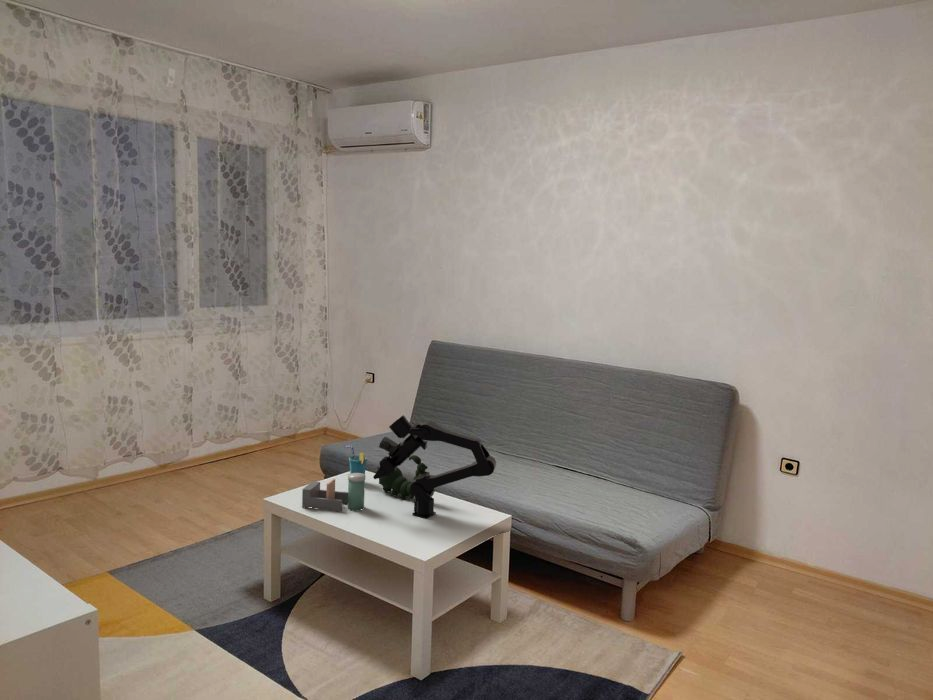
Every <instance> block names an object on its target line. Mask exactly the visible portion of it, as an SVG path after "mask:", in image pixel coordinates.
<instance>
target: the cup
mask: <svg viewBox="0 0 933 700" xmlns="http://www.w3.org/2000/svg"><path fill="white" fill-rule="evenodd" d="M345 448H348V449H349V448H350V450H351V454H352V456H351V457H348V462H349V474H351V473H363V474H365V475H366V466H367V462H368V458H367V457H366V456H365V455H366V454H365V453H364V451H361V452H360V453H359V455H355V450H354V447H353V445H346V446H345Z"/></svg>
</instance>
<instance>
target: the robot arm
mask: <svg viewBox="0 0 933 700" xmlns="http://www.w3.org/2000/svg"><path fill="white" fill-rule="evenodd" d="M388 428H389V429H390V430H391V432H393V434H394V435H395V436H396V437H397V438H398V439H404V438H405V439H404V440H403V441H401V442H400V443H397V442H396V441H394V440H392V439H390V437H387V436H384V437H383V438H382V439H381V441H380V442H379V444H378V448H380V449H382V450H384V451H385V452H388V453H387V454H388V456H387V455H386V456H384V457H383V458H382V459H381V460H380V461H379V462H378V463H379V467H380V468H379V469H377V470H376V473H375V474H374V475H373V477H372V478H373V479H374V480H377V479H378V480H379V478H381V477H384V476H387V475H391V474H393V473H394V472H395V471H396V470H397V467H399V466H401V465H402V464H403V463H404V462H405V461H407V460H409V457H410V456H412V455H413V454H414V453H415V452H416V451H418V450H419V449H420V448H421V449H422V450H424V451H425V450H426V449H427V448H428V441H430V442H443V443H446V444H450V445H452V446H456V447H459V448H462V449H463V448H464V449H467V450H470V451H471V453H472V455H473V456H474V460H475V461H473V462H472V463H471V464H468V465H464V466H462V467H458V468H455V469H452V470H448V471H445V472H441V473H438V474H436V475H434V474H433V475H431V474H430V472H429V471H426V472H427V473H425V474H419V476H418V477H417V478H416V479H415V480H414V479H413V481H414V482H413V481H412V482H413V483H412V484H411V487H410V489H411V492H412V493H413V494H414V499H415V500H414V503H413V504H414V505H413V506H414V507H413V512H412V516H416V517H420V518H423V519H428V518H430V517H432V516H435V515H436V513H437V512H435V511H434V510H435V509H434V507H435V497H434V498H433V496H434V495H435V491H436V488H438V487H441V486H445V485H447V484H451V483H454V482H458V481H462V480H464V479H468V478H471V477H485V476H488V477H489V476H491V475H492V474H494V471H495V468H496V467H497V460H496V459H495V458H494V457H493V456H492V455H491V454H490V452H489V451H488V449H487V448H486V447H485V445H484V444H483V443H482V441H481V439H480V438H477V437H476V438H475V437H471V436H467V435H464V434H461V433H459V432H458V433H457V432H453V431H450V430H446V429H444V428H443V427H441V426H440V425H438V424H436V423H435V422H432V421H425V422H423V423H421V424H420V423H419V424H418V423H417V424H412V423H410V422H409V420H408V419H407V417H406V416H405V415H401V416H400V417H399V418H398V419H396V420H395V421H394V422H392V424H390V425H389V426H388ZM407 436H408V437H407Z"/></svg>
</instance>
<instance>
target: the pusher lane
mask: <svg viewBox="0 0 933 700" xmlns="http://www.w3.org/2000/svg"><path fill="white" fill-rule="evenodd" d="M326 492H327V489H321V482H320V481H315V480H312V482H310V483H309V484H307V485H306V486H304V487H303V488H302V492H301V493H302V494H301V495H302V497H301V499H302V500H301V504H302V506H301V508H302V507H312V508H318V509H317V510H322V509H326V511H332V510H336V511H335V512H342V511H343V504H348V491H339V490H335V499H327V498H326Z"/></svg>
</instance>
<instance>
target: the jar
mask: <svg viewBox="0 0 933 700" xmlns="http://www.w3.org/2000/svg"><path fill="white" fill-rule="evenodd" d="M347 480H348V481H347V483H348V484H347V486H348V487H347V489H348V490H347V492H348V503H347V509H348V510H349V509H350V510H349V511H352V510H359V511H362V510H361V509H363V508H364V509H365V491H366V490H365V488H366V487H365V485H366V481H365V480H366V473H365V474H363V473H351V474H350V473H349V474H348V475H347ZM364 509H363V510H364Z"/></svg>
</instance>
